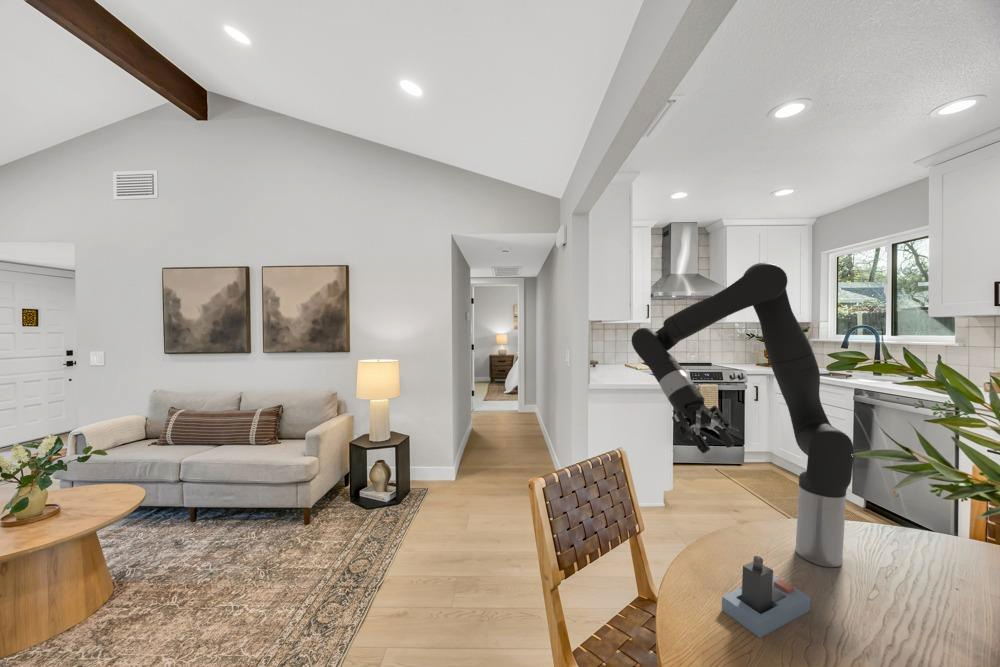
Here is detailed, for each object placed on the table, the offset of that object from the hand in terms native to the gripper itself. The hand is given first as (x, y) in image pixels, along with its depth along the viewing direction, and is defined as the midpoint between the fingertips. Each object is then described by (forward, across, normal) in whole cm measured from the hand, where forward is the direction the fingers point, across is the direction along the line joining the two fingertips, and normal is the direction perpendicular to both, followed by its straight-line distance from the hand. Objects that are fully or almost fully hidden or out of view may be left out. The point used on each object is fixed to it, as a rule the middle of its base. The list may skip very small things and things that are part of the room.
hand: (719, 448), depth 99 cm
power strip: (+31, -4, +10) cm, 32 cm away
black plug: (+31, -7, +10) cm, 33 cm away
